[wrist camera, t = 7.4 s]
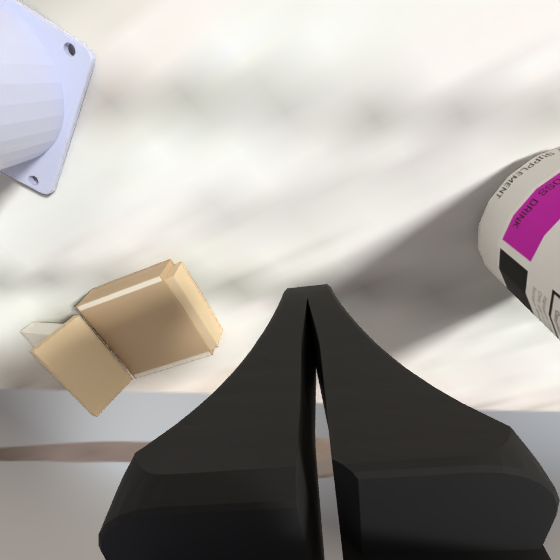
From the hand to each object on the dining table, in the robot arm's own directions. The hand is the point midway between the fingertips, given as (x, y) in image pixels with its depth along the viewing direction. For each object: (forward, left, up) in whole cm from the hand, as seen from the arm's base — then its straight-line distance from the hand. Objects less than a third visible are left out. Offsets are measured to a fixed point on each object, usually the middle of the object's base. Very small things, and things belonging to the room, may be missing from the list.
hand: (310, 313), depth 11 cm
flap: (-6, -14, -7) cm, 17 cm away
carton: (-4, -12, -10) cm, 16 cm away
